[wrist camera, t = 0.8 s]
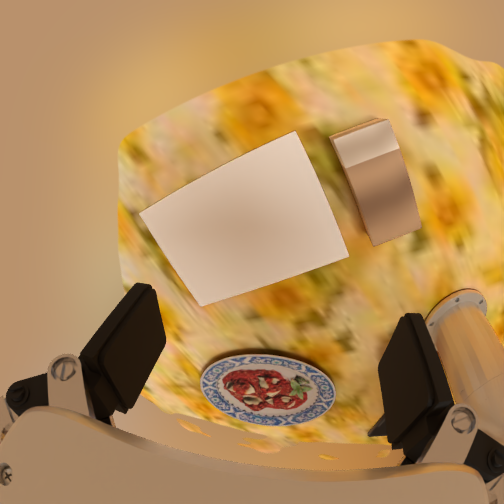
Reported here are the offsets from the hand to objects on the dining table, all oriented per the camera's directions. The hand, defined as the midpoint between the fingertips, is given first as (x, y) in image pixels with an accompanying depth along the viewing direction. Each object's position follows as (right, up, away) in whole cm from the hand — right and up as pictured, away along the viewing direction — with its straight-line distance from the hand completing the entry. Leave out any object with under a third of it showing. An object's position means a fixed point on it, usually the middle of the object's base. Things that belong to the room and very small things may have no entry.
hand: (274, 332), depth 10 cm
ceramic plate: (+2, -23, +39) cm, 46 cm away
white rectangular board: (-2, +5, +24) cm, 25 cm away
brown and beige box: (+13, +11, +18) cm, 25 cm away
